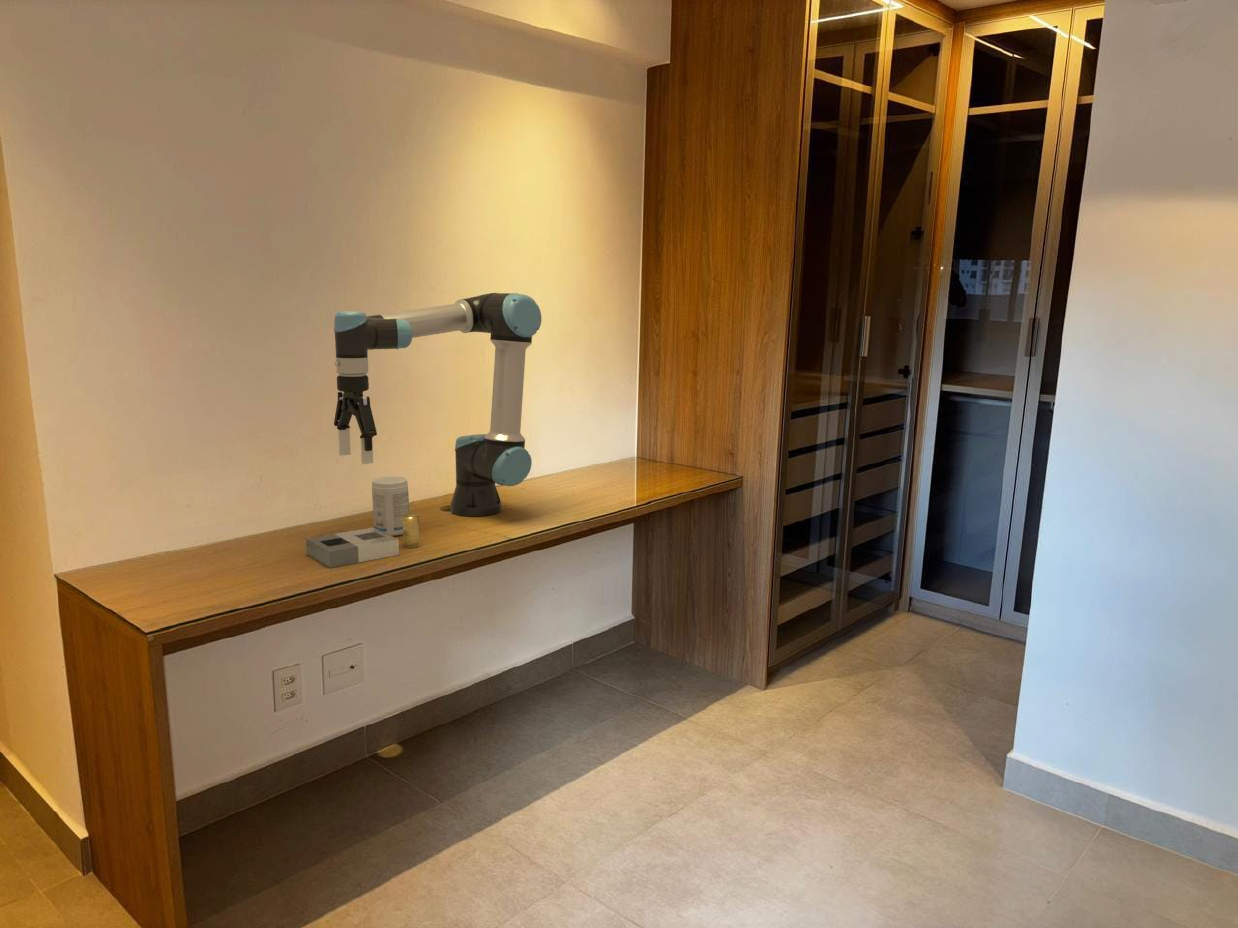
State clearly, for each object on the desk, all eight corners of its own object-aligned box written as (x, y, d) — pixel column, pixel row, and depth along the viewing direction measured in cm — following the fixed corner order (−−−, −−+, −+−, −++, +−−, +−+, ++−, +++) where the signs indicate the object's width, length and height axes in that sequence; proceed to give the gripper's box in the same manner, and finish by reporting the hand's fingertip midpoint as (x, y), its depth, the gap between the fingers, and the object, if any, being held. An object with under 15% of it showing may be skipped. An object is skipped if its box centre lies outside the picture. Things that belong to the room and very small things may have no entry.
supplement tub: (409, 526, 250) (408, 475, 247) (410, 536, 241) (409, 482, 238) (373, 528, 248) (371, 476, 245) (373, 537, 239) (371, 484, 236)
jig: (374, 542, 235) (373, 527, 234) (398, 554, 224) (398, 539, 223) (306, 554, 223) (305, 538, 222) (329, 568, 213) (328, 551, 212)
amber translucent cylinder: (414, 543, 235) (413, 513, 233) (421, 546, 232) (421, 516, 230) (400, 545, 232) (399, 515, 230) (407, 549, 229) (407, 519, 228)
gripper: (318, 371, 227) (322, 453, 232) (359, 380, 209) (362, 469, 213) (346, 369, 232) (350, 450, 236) (389, 378, 213) (391, 465, 218)
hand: (355, 459), depth 225 cm, fingers open, 13 cm apart
